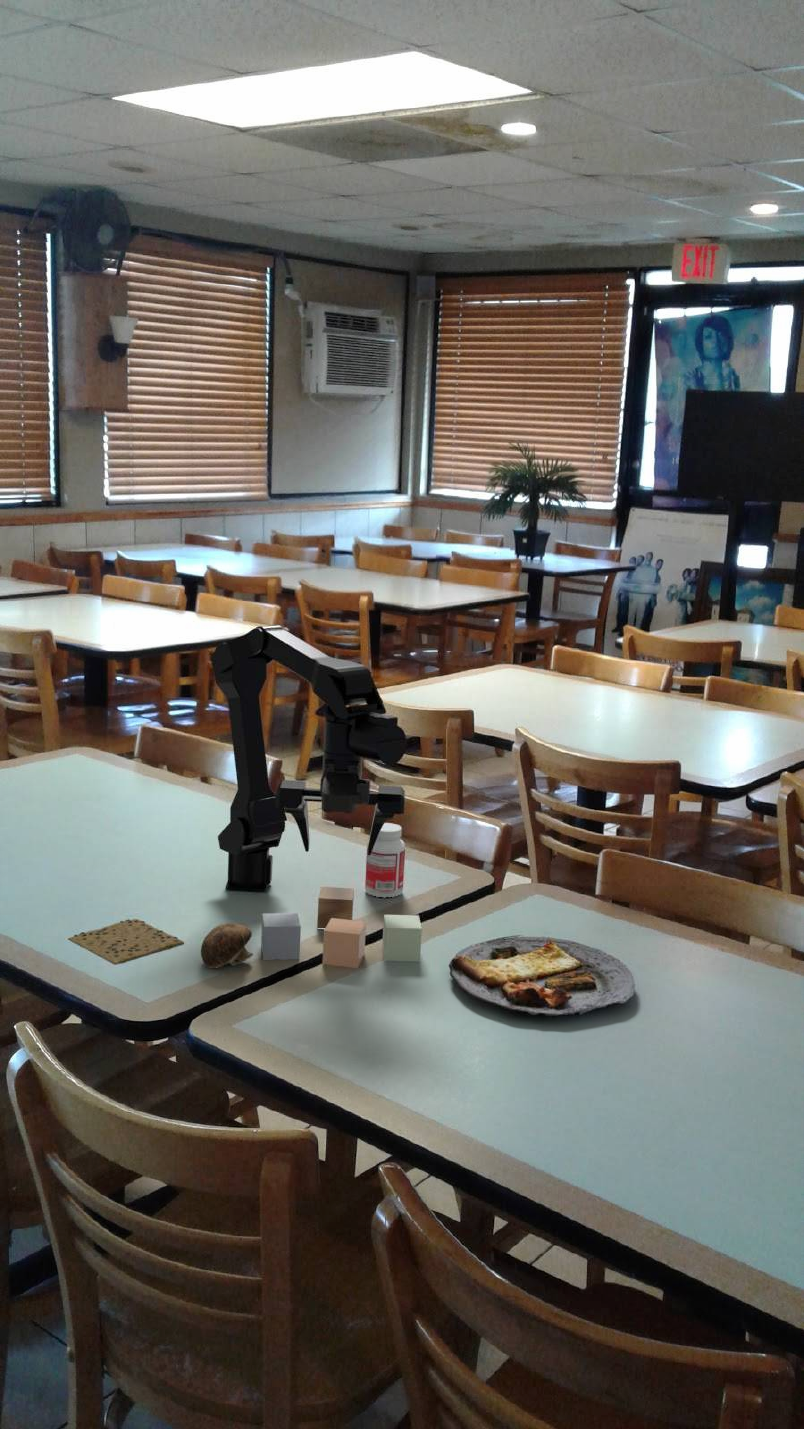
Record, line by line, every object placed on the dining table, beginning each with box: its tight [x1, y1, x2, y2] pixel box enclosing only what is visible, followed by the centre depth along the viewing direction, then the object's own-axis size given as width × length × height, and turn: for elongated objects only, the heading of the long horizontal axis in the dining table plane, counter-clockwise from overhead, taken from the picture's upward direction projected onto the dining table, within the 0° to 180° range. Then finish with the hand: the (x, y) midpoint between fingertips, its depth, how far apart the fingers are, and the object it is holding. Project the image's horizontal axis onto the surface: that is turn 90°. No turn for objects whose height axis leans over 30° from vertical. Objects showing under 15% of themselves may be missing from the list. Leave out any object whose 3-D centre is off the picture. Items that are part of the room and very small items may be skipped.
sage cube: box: [381, 914, 423, 963], centre depth 179 cm, size 5×5×5 cm
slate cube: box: [260, 912, 302, 961], centre depth 177 cm, size 5×5×5 cm
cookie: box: [67, 918, 185, 965], centre depth 179 cm, size 12×12×1 cm
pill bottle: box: [364, 822, 406, 899], centre depth 203 cm, size 6×6×11 cm
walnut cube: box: [316, 886, 355, 929], centre depth 189 cm, size 5×5×5 cm
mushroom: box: [200, 922, 254, 969], centre depth 172 cm, size 8×8×6 cm
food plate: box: [448, 935, 636, 1017], centre depth 172 cm, size 25×23×4 cm
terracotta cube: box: [321, 918, 367, 969], centre depth 176 cm, size 5×5×5 cm
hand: (338, 852), depth 187 cm, fingers open, 9 cm apart
